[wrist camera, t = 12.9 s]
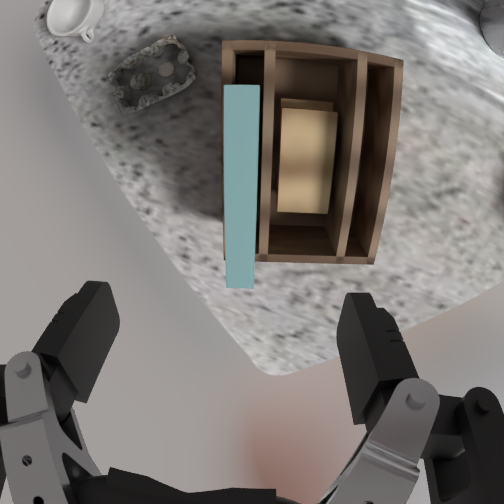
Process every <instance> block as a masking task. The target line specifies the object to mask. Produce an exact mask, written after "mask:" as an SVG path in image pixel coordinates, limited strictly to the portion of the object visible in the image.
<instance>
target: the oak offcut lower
mask: <svg viewBox="0 0 504 504" xmlns="http://www.w3.org/2000/svg"><path fill="white" fill-rule="evenodd" d="M281 107H293V108H307V109H318V110H328V111H333V103H332V102H326V101H315V100H304V99H290V98H280V106H279V132H278V156H277V178H276V194H277V182H278V162H279V139H280V114H281Z"/></svg>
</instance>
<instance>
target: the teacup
mask: <svg viewBox="0 0 504 504" xmlns="http://www.w3.org/2000/svg"><path fill="white" fill-rule="evenodd" d="M103 13H104V1H103V0H53V1H52V3H51V5H50V7H49V9H48V13H47V26H48V29H49V30H50V32H51V33H52V34H54V35H56V36H60V37H76V36H81V37H82V38H83V39H84V41H86V42H87V43H92V42H94V28H95V26H96V25H97V24H98V23H99V21H100V20H101V18H102V16H103ZM86 34H88V35H89V37H90V39H89V38H88V37H87V35H86Z"/></svg>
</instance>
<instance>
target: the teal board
mask: <svg viewBox="0 0 504 504" xmlns="http://www.w3.org/2000/svg"><path fill="white" fill-rule="evenodd" d="M259 114H260V86H259V85H224V216H225V259H226V288H251V289H254V266H255V240H256V215H257V186H258V151H259Z"/></svg>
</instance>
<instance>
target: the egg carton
mask: <svg viewBox="0 0 504 504" xmlns="http://www.w3.org/2000/svg"><path fill="white" fill-rule="evenodd" d="M167 44H175V45H177V46H178V47H179V48H181V49H182V50H181V51H180V52H179V53H178V56H177V57H178V62H179V63H180V64H181V65H184V66H191V68H192V71H190V72H189V73H188V74H187V79H186V82H185V83H184V84H183V85H182V84H181V83H175V82H171V83H168V84H167V85H165V86H163V89H162V92H163V96H159V95H156V94H152V95H150V94H149V95H144V96H142V97H141V98H140V99H139V104H138V107H136V106H129V104H128V102H127V100H128V99H129V97H130V95H131V89H130V88H129V87H128V86H125V85H124V86H120V85H119V83H118V80H119V79H120V78H121V76H122V69H123V68H125V69H137V68H139V67H140V66H141V65H142V62H143V58H144V57H145V56H152V57H159V56H161V55H162V54H163V53H164V51H165V45H167ZM188 59H189V55H188V52H187V50H186V49H185V46H184V45H183V44H181V43H178V40H177V39H176V37H175V35H170V36H168V37H165V38H163V39H161V40H158V41H156V42H154V43H153V44H151V45H150V46H148V47H146V48H144V49H142V50H140V51H139V52H137V53H135V54H133V55H131V56H129V57H127V58H126V59H125V60H124V61H122V62H121V63H120V64H119V65H118V66H117V67H116V68H115V69H114V70H112V71H110V72H109V73H108V74H107V78H108V79H109V81H110V84H111V85H110V87H111V89H112V90H113V94H114V97H115V99H116V103H117V104H118V105H119V108H120V112H121V114H122V116H125V115H128V114H131V113H134V112H136V111H139V110H141V109H143V108H145V107H148V106H149V105H151V104H154V103H156V102H158V101H160V100H163V99H165V98H167V97H170V96H172V95H174V94H176V93H178V92H180V91H182V90H183V89H185V88H186V87H188V86H189V85H190V84H191V83H192V81H193V80H195V79H196V77H195V75H194V73H195V72H196V71H195V68H194V66H192V65H191V64H190V63H189V62H188ZM174 70H175V66H174V64H173V63H171V62H168V61H166V62H163V63H162V64H160V66H159V68H158V73H159V75H160V76H162V77H170V76H171V75H172V74H173V73H174ZM130 83H131V88H133V89H135V90H144V89H147V88H149V87H150V86H151V83H152V77H151V76H150V75H149V74H146V73H141V72H138V73H137V74H135V75H133V76H132V78H131V81H130Z"/></svg>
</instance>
